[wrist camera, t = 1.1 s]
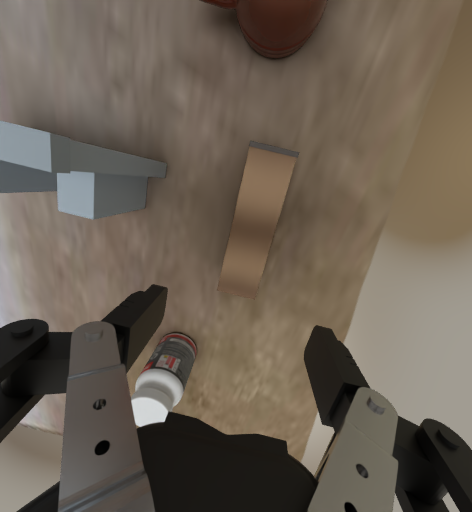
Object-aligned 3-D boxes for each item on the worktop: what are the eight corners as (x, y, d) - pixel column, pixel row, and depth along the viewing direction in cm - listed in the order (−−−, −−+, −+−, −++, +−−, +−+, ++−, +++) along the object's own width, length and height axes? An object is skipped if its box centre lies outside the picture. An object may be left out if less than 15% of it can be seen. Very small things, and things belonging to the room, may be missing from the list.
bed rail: (251, 151, 24) (250, 140, 18) (288, 160, 24) (299, 152, 18) (224, 268, 28) (216, 290, 23) (255, 276, 28) (255, 300, 22)
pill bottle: (162, 327, 32) (123, 387, 22) (200, 336, 32) (177, 400, 22) (157, 358, 34) (120, 425, 24) (194, 367, 34) (170, 438, 24)
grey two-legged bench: (28, 128, 25) (-282, 51, 11) (168, 162, 25) (49, 132, 10) (31, 180, 27) (-230, 175, 12) (162, 212, 27) (54, 245, 12)
